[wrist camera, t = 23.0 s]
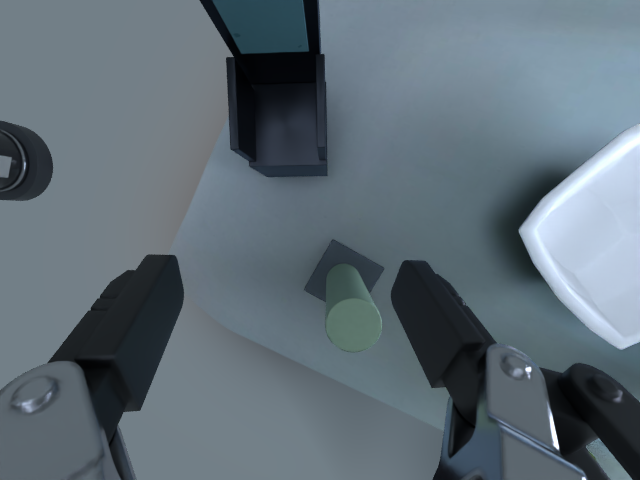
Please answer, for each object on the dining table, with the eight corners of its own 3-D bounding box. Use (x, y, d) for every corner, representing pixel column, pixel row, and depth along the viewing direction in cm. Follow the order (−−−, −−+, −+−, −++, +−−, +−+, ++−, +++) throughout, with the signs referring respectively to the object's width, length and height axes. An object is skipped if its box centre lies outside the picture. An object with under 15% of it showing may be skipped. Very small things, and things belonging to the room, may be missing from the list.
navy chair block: (327, 175, 39) (325, 101, 13) (267, 177, 39) (147, 107, 13) (326, 90, 37) (322, -181, 12) (264, 92, 38) (125, -169, 12)
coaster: (304, 289, 41) (303, 290, 40) (332, 239, 40) (332, 239, 39) (354, 316, 41) (354, 318, 40) (383, 267, 40) (384, 268, 39)
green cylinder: (320, 286, 40) (315, 335, 24) (336, 257, 39) (343, 287, 23) (349, 302, 40) (364, 362, 24) (366, 274, 39) (393, 315, 24)
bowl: (464, 227, 39) (502, 231, 30) (593, 119, 37) (671, 91, 28) (556, 333, 40) (616, 365, 32) (685, 235, 38) (786, 241, 30)
